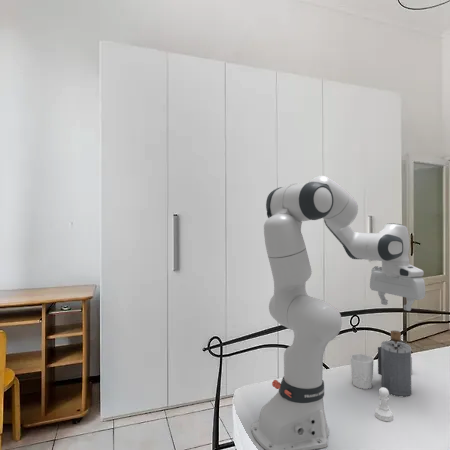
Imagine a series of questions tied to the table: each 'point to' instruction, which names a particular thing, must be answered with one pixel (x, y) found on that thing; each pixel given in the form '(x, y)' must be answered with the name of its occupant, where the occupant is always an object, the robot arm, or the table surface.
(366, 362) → the white cup
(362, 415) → the table surface
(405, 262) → the robot arm
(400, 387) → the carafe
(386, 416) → the chess pawn
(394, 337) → the plunger
